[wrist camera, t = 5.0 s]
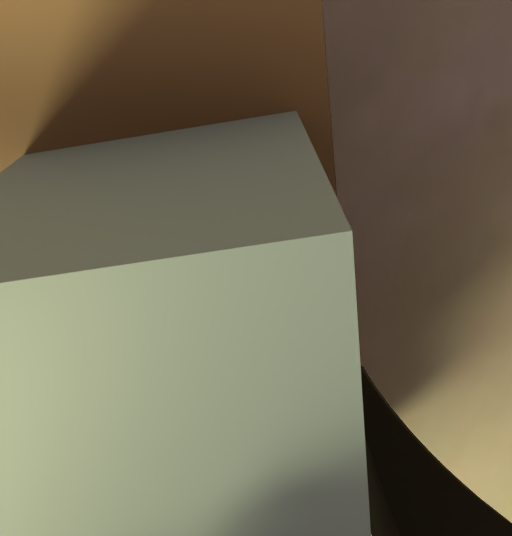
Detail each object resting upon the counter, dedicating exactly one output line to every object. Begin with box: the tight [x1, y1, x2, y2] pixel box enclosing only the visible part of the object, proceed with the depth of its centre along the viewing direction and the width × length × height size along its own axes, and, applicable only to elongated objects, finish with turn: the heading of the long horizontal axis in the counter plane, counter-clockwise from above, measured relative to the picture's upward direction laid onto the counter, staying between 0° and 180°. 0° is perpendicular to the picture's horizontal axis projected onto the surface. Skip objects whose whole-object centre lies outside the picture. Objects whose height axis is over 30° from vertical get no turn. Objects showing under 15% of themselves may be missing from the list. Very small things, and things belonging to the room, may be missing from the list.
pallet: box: [0, 0, 337, 197], centre depth 13 cm, size 20×5×4 cm, turn 9°
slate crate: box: [0, 111, 371, 536], centre depth 6 cm, size 4×4×4 cm
